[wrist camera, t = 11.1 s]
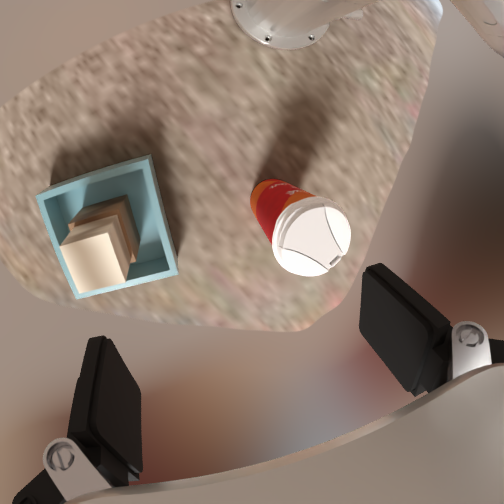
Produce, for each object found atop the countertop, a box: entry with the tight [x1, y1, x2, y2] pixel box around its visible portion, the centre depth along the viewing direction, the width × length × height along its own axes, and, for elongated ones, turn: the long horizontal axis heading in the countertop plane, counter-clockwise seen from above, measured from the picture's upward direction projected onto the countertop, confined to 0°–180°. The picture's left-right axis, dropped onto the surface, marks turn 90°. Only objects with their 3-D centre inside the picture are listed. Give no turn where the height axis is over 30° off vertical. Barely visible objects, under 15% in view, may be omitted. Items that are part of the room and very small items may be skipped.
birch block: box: [59, 215, 131, 294], centre depth 27 cm, size 5×5×5 cm
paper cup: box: [250, 179, 351, 276], centre depth 33 cm, size 8×8×14 cm
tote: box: [36, 154, 179, 299], centre depth 33 cm, size 14×14×4 cm
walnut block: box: [68, 194, 141, 263], centre depth 32 cm, size 6×6×6 cm
